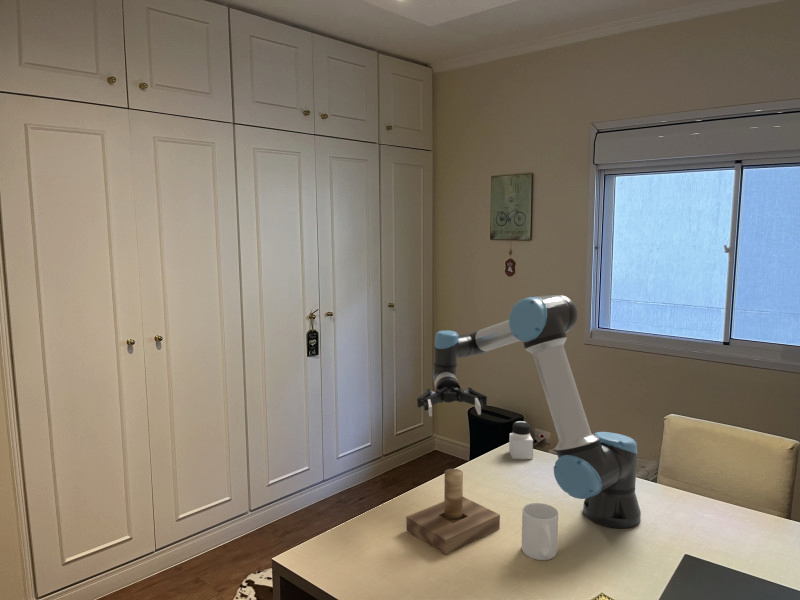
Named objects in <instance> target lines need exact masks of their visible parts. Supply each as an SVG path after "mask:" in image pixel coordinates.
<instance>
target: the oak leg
mask: <svg viewBox="0 0 800 600" xmlns="http://www.w3.org/2000/svg"><path fill="white" fill-rule="evenodd" d="M463 482H464V471H462V470H461V469H458V468H448V469H445V471H444V486H443V487H444V490H443V491H444V497H443V498H444V500H443V502H444V516H445V518H446V519H447V520H449V521H450V522H452V523H455V522H457V521H459V520H460V519H461V518H462V515H463V513H462V503H463V497H464V496H463V495H464V494H463V492H464V490H463V488H464V485H463V484H464V483H463Z"/></svg>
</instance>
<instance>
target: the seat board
mask: <svg viewBox="0 0 800 600" xmlns="http://www.w3.org/2000/svg"><path fill="white" fill-rule="evenodd" d="M462 513H463V515H462V518H461V519H460V520H459V521H457V522H455V523H452V522H450V521H449V520H447V519H446V518H445V516H444V501H442V502H440V503H437V504H434V505H432V506H429V507H427V508H424V509H422V510H420V511H417V512H414V513H412V514H410V515H407V516H406V526H405V528H406V530H407V531H408V532H407V531H406V532H407V533H409V532H410V533H409V534H411V535H412V534H413V535H412V536H414V537H415V536H416V537H415V538H417V537H418V538H417V539H419V540H421V541H422V542H423V543H425V544H426V545H428V544H429V546H430V547H432V548H433V549H435V550H437V551H438V552H440V553H442V554H444V555H445V556H446V555H449V554H451V553H454V552H455V551H457V550H459V549H461V548H463V547H466V546H467V545H469V544H472V543H473V542H475V541H477V540H480V539H482V538H484V537H486V536H487V535H490V534H492V533H494V532H497V531H498V530H500V529H501V528H500V527H501V526H500V525H501V514H500V513H497V512H496V511H494V510H491V509H489V508H487V507H485V506H483V505H481V504H479V503H477V502H474V500H473V501H472V500H471V499H469V498H467V497H465V496H463V503H462Z"/></svg>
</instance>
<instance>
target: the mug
mask: <svg viewBox="0 0 800 600" xmlns="http://www.w3.org/2000/svg"><path fill="white" fill-rule="evenodd" d="M521 513H522V516H521V519H522V520H521V550H522V552H523V554H524V555H525V556H527V557H528V558H530V559H533V560H536V561H549V560H551V559H553V558H555V557H556V555H557V553H558V537H559V536H558V535H559V534H558V531H559V528H558V527H559V512H558V510H557V508H555V507H554V506H552V505H550V504H547V503H541V502H531V503H527V504H525V505H524V506H523V507H522V511H521Z"/></svg>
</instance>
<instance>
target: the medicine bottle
mask: <svg viewBox="0 0 800 600" xmlns="http://www.w3.org/2000/svg"><path fill="white" fill-rule="evenodd" d="M508 441H509V442H508V444H509V445H508V449H509V450H508V452H509V455H510V457H511V459H512V460H533V458H534V457H533V456H534V439H533V437H532V436H531V425H530V423H528V422H527V421H521V420H519V421H515V422H513V423H512V432H510V433H509V439H508Z"/></svg>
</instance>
